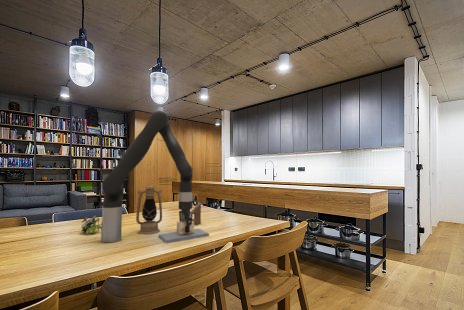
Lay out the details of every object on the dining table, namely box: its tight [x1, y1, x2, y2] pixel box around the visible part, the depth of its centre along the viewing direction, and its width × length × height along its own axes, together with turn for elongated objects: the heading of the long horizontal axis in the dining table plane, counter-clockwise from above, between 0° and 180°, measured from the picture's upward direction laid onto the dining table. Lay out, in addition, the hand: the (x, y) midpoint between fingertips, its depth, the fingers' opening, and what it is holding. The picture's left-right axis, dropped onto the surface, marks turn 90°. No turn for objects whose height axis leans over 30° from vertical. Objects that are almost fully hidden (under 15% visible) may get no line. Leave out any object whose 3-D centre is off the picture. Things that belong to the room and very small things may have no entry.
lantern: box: [135, 184, 163, 235], centre depth 144 cm, size 14×12×30 cm
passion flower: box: [80, 215, 101, 236], centre depth 141 cm, size 11×11×12 cm
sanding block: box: [176, 220, 195, 235], centre depth 134 cm, size 8×5×6 cm, turn 124°
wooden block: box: [186, 202, 202, 226], centre depth 163 cm, size 4×11×18 cm, turn 119°
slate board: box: [157, 228, 210, 244], centre depth 133 cm, size 24×13×2 cm, turn 124°
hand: (185, 231), depth 134 cm, fingers closed on sanding block, 5 cm apart
